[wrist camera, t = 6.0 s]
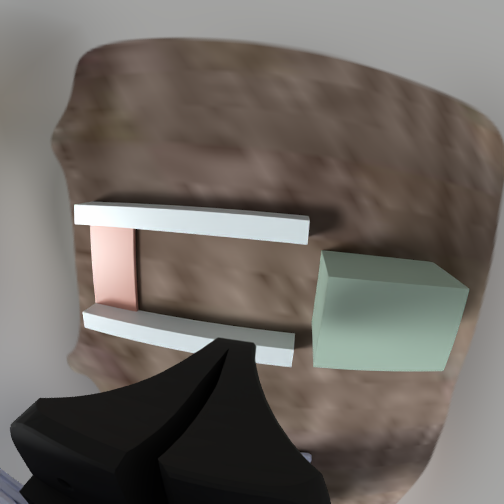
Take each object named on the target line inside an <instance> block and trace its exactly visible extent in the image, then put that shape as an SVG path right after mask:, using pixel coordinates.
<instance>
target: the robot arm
mask: <svg viewBox="0 0 504 504" xmlns="http://www.w3.org/2000/svg"><path fill="white" fill-rule="evenodd" d="M255 356H256V345H255V344H254V342H246V341H239V340H233V339H226V338H219V337H218V338H216V339H215V340H213V341H212V342H210V343H209V344H207V345H206V346H205V347H203V348H202V349H200V350H199V351H197V352H196V353H194V354H193V355H191V356H190V357H188V358H187V359H185V360H183V361H182V362H180V363H178V364H176V365H174V366H173V367H171V368H169V369H167V370H165V371H164V372H161V373H159V374H157V375H155V376H153V377H151V378H148V379H146V380H143V381H140V382H138V383H135V384H132V385H129V386H125V387H122V388H118V389H115V390H111V391H107V392H102V393H97V394H91V395H85V396H77V397H63V398H39V399H38V400H37V401H36V402H35V403H34V404H33V405H32V406H30V407H29V408H28V409H27V410H26V411H25V412H24V413H23V414H22V415H21V416H19V417H18V418H17V419H16V420H15V421H14V422H13V423H12V424H11V427H10V432H11V437H12V440H13V442H14V444H15V446H16V448H17V450H18V452H19V453H20V455H21V457H22V458H23V460H24V462H25V463H26V465H27V467H28V468H29V470H30V471H31V473H32V474H33V476H32V477H31V478H30V479H29V480H28V482H27V483H26V484H25V485H22V484H21V483H19V482H18V481H17V480H15V479H14V478H12V477H11V476H10V475H9V474H7V473H6V472H5V471H3V470H2V469H1V468H0V504H331V502H330V497H329V494H328V490H327V487H326V484H325V481H324V478H323V476H322V474H321V473H320V472H319V471H318V470H317V469H316V468H315V467H314V466H313V465H312V464H311V460H312V455H311V454H309V453H302V452H299V450H298V449H297V448H296V447H295V446H294V444H293V443H292V442H291V441H290V439H289V438H288V436H287V435H286V433H285V432H284V431H283V429H282V428H281V426H280V425H279V423H278V421H277V420H276V418H275V416H274V414H273V413H272V411H271V409H270V406H269V404H268V402H267V400H266V398H265V395H264V392H263V390H262V387H261V384H260V380H259V377H258V372H257V368H256V362H255Z"/></svg>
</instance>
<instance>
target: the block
mask: <svg viewBox="0 0 504 504" xmlns="http://www.w3.org/2000/svg"><path fill="white" fill-rule="evenodd" d="M468 293H469V288H468V287H466V286H465V285H464V284H462V283H461V282H460V281H458V280H457V279H456V278H454V277H453V276H451V275H450V274H449V273H447V272H446V271H445V270H443V269H442V268H440V267H439V266H438V265H436V264H435V263H433V262H428V261H419V260H410V259H401V258H391V257H382V256H372V255H363V254H353V253H344V252H334V251H324V250H322V251H321V259H320V267H319V275H318V283H317V290H316V297H315V304H314V311H313V317H312V340H313V367H321V368H334V369H350V370H371V371H444V368H445V365H446V363H447V360H448V357H449V355H450V352H451V349H452V346H453V343H454V340H455V337H456V334H457V331H458V328H459V325H460V322H461V318H462V315H463V311H464V308H465V304H466V301H467V297H468Z"/></svg>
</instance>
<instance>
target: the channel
mask: <svg viewBox="0 0 504 504" xmlns="http://www.w3.org/2000/svg"><path fill="white" fill-rule="evenodd" d="M74 212H75V224H83V225H90V230H91V252H92V267H93V280H94V290H95V299H96V303H95V304H94V305H92V306H91V307H89V308H88V309H86V310H85V311H83V318H84V325H85V328H89V329H92V330H96V331H99V332H103V333H107V334H111V335H115V336H118V337H122V338H127V339H131V340H135V341H139V342H143V343H148V344H152V345H157V346H161V347H166V348H171V349H176V350H181V351H186V352H191V353H196V352H197V351H199V350H200V349H202V348H203V347H205V346H206V345H207V344H209V343H210V342H212V341H213V340H215V339H216V338H218V337H219V338H226V339H233V340H239V341H246V342H254V344H255V345H256V356H255V362H256V363H261V364H269V365H277V366H286V367H291V366H292V359H293V353H294V341H295V333H287V332H278V331H269V330H261V329H253V328H245V327H238V326H230V325H223V324H217V323H210V322H203V321H197V320H191V319H185V318H179V317H173V316H168V315H162V314H157V313H151V312H146V311H141V310H139V309H138V294H137V275H136V239H135V229H144V230H156V231H168V232H179V233H190V234H201V235H212V236H223V237H234V238H244V239H255V240H265V241H276V242H286V243H296V244H306V245H307V243H308V233H309V223H310V220H309V216H304V215H293V214H283V213H271V212H260V211H248V210H235V209H222V208H208V207H193V206H177V205H159V204H139V203H116V202H88V203H82V204H76V205H74Z"/></svg>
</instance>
